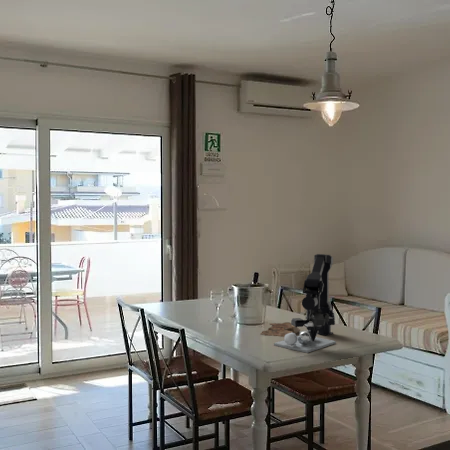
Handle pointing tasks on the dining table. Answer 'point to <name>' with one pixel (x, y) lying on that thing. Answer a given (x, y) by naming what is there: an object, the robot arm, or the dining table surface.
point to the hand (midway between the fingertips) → (313, 340)
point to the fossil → (280, 329)
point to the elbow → (304, 337)
